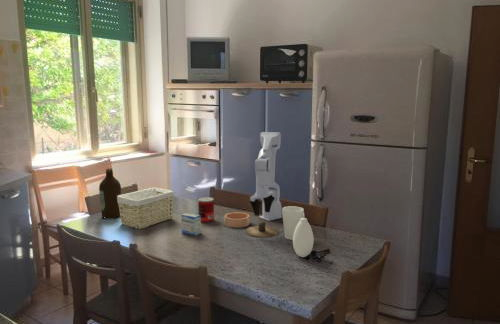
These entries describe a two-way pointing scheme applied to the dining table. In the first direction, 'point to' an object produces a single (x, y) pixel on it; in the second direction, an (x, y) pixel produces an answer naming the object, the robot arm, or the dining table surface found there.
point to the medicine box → (191, 224)
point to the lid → (262, 230)
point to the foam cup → (291, 219)
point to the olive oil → (109, 195)
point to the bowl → (237, 219)
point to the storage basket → (145, 207)
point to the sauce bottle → (303, 238)
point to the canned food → (206, 209)
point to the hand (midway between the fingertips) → (262, 213)
